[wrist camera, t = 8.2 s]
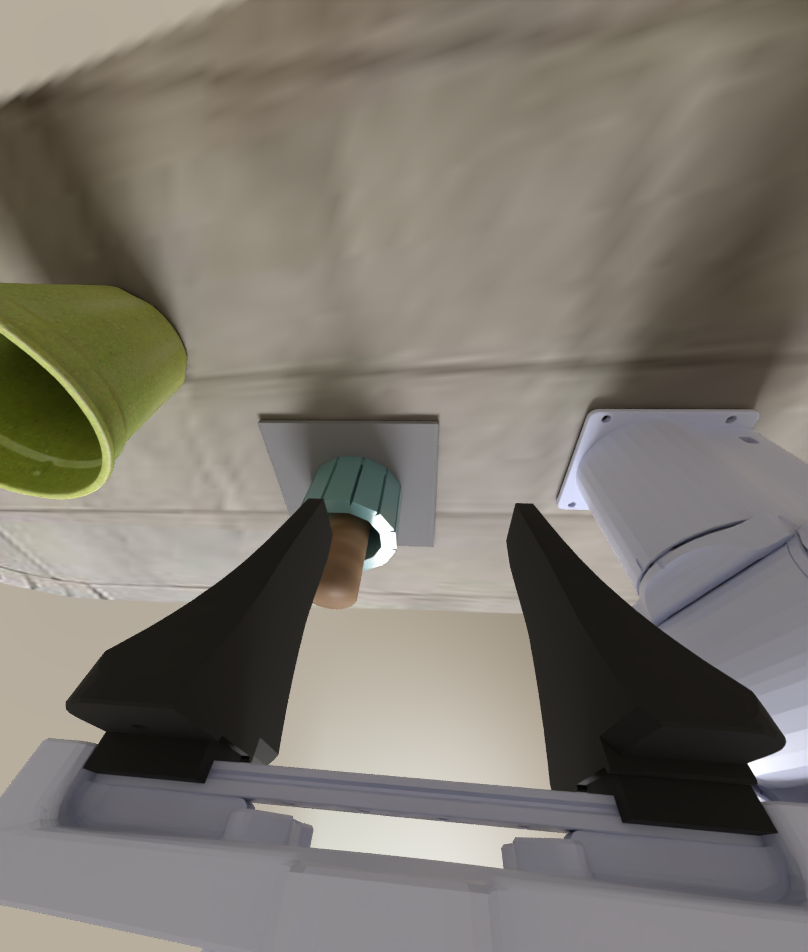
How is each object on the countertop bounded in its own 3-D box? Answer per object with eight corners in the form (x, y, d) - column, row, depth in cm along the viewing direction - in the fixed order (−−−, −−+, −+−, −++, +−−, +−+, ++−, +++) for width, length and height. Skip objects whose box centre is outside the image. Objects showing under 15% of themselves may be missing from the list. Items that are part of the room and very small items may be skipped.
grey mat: (438, 421, 20) (438, 424, 20) (433, 543, 28) (433, 546, 28) (260, 420, 21) (257, 423, 21) (300, 538, 29) (299, 542, 28)
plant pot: (133, 214, 15) (-117, 200, 8) (249, 394, 20) (156, 477, 14) (5, 283, 17) (-274, 317, 10) (140, 429, 23) (13, 515, 16)
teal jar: (399, 457, 22) (393, 502, 18) (402, 525, 26) (398, 572, 22) (304, 455, 22) (279, 499, 19) (322, 522, 27) (305, 568, 23)
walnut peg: (373, 482, 23) (353, 579, 16) (377, 512, 25) (360, 610, 18) (332, 482, 23) (297, 577, 17) (339, 512, 25) (309, 608, 18)
